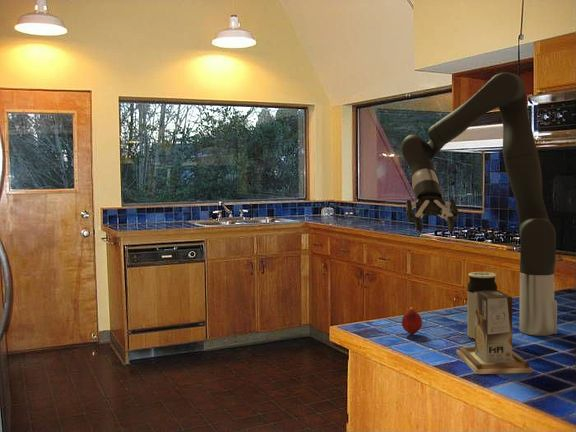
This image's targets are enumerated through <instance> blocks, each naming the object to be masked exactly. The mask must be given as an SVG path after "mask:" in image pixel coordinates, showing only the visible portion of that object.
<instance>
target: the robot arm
mask: <svg viewBox="0 0 576 432" xmlns="http://www.w3.org/2000/svg"><path fill="white" fill-rule="evenodd" d="M527 104H528V101H527V90H526V85H525V82H524V80H523V79H522V78H521V77H520V76H519V75H517V74H515V73H512V72H499V73H496V74H495V75H493V76H492V77H491V78H490V80H488V81H487V82H486V83H485V84H484V85H483V86H482V87H481V88H480V89H479V90H478V91H477V92H475V94H473V95H472V96H471V97H470V98H468V100H466V101H465V102H464V103H462V104H461V105H460V106H458V107H457V108H456V109H455V110H453V111H451V112H449V113H448V114H447V115H446V116H444V117H442V118H441V119H440V120H439V121H437V122H436V123H434V124H433V125H432V126H430V127H429V128H428V130H427V135H428V137H429V138H430V140H429V141H428V142H427V141H426V140H425V139H423V138H422V137H421V136H419V135H417V134H408V135H407V136H406V137H404V139H403V141H402V143H401V152H402V156H403V158H404V161H405V162H406V164H407V166H408V168H409V170H410V175H411V183H412V184H411V185H412V190H413V194H414V199H415V201H412V200H410V199H407V200H406V203H405V210H406V212H405V213H406V220H407V221H408V222H414V227H415V229H416V231H418V233H422V231H423V224H422V219H423V216H425V217H430V216H434V217H435V216H438V217H440V218H441V219H444V220H445V221H446V224H447V228H448V232H453V230H454V229H455V221H457V220H458V218H459V217H458V216H459V214H460V212H459V209H458V207H457V203H456V202H455V199H454V198H451V199H450V200H449V201H446V200H444V199H443V194H442V191H441V187H440V184H439V183H440V182H439V180H438V177H437V175H436V171H435V167H434V164H433V162H432V160H433V159H434V158H435V156H436V155H437V154H439V152H440V151H441V150H442V149H443V148H444V146H446V145H447V144H449V143H450V142H452V140H454V139H456V138H457V137H459V136H460V135H462V134H463V133H464V132H465V131H466V130H467V129H469V127H471V126H472V125H473V124H474V123H475V122H476V121H477V120H479V119H481V118H482V117H483V116H485V115H486V114H488V113H489V112H491V111H493V110H496V109H497V108H498V109H499V112H500V113H499V114H500V117H501V120H502V121H501V122H502V128H503V129H502V130H503V131H502V132H503V133H502V155H503V161H504V165H505V171H506V174H507V177H508V182H509V184H510V187H511V190H512V193H513V196H514V199H515V201H516V206H517V207H516V208H517V214H518V226H519V227H518V229H519V238H520V241H519V243H520V255H519V256H520V259H519V324H518V325H519V332H520V333H522V334H526V335H530V336H538V337H539V336H540V337H541V336H552V335H553V334H554V335H556V334H558V330H557V329H558V301H557V300H556V299H555V266H556V257H557V256H556V254H557V253H556V251H557V250H556V249H557V234H556V233H557V232H556V229H555V227H554V225H553V224H552V222H551V221H550V219H549V215H548V213H547V209H546V205H545V202H544V197H543V179H542V177H543V176H542V167H541V163H540V162H541V161H540V157H539V152H538V148H537V145H536V144H537V143H536V140H535V137H534V133H533V129H532V126H531V122H530V118H529V113H528V111H529V110H528V105H527ZM414 208H416V209H417V210H418V211H417V212H416V213H415V214H414V213H413V210H414ZM449 210H450V211H449Z"/></svg>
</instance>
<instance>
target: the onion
mask: <svg viewBox="0 0 576 432" xmlns="http://www.w3.org/2000/svg"><path fill="white" fill-rule="evenodd" d="M401 326H402V328H403V330H405V332H407V334H410V335H411V336H413V335H415V334H416V333H417V332H418V331H420V330H421V328H422V327H423V320H422V317H421V315H420V314H419V313H418V312H417V311H415V307H413V306H411V307H410V308H409V310H408V311H407V312H405V313H403V316H402V319H401Z"/></svg>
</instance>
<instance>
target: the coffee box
mask: <svg viewBox="0 0 576 432" xmlns="http://www.w3.org/2000/svg"><path fill="white" fill-rule="evenodd" d="M474 346H475V354H476V355H477V356H478V357H479V358H481V359H482V360H483V361H484V362H486V363H512V351H513V297H512V296H510V295H509V294H507V293H504V292H503V291H500V290H498V289H497V290H490V291H475V339H474Z"/></svg>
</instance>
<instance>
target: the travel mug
mask: <svg viewBox="0 0 576 432" xmlns="http://www.w3.org/2000/svg"><path fill="white" fill-rule="evenodd" d="M467 275H468V277H469V281H468V283H467V288H466V289H467V292H466V293H467V303H466V304H467V305H466V306H467V309H466V310H467V311H466V312H467V337H469V338H471V339H472V338H473V340H475V291H490V290H498V285H497V283H496V281H495V280H496V277H497V274H496V273H495V272H489V271H473V272H469V273H468V274H467Z"/></svg>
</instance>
